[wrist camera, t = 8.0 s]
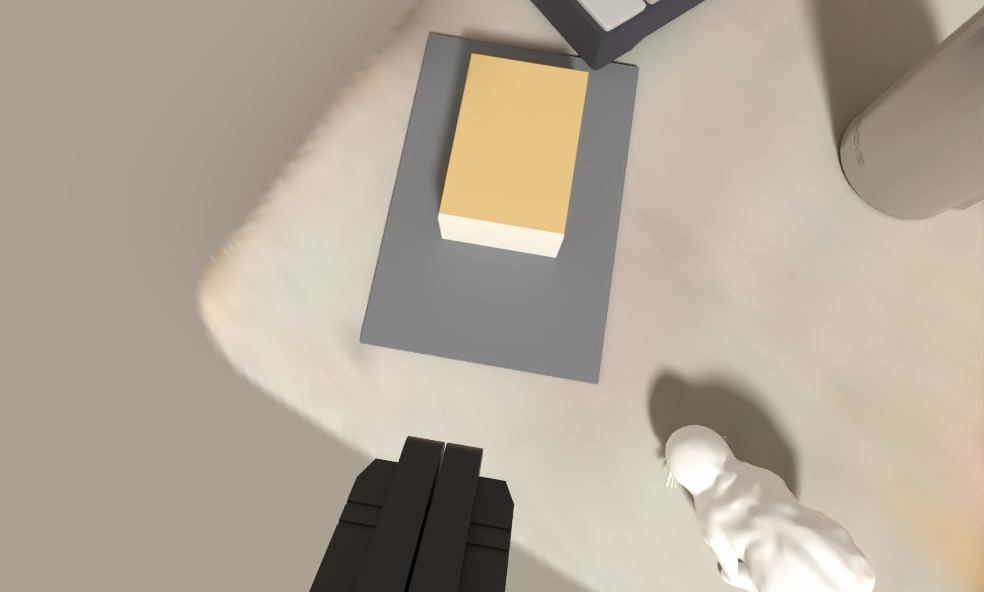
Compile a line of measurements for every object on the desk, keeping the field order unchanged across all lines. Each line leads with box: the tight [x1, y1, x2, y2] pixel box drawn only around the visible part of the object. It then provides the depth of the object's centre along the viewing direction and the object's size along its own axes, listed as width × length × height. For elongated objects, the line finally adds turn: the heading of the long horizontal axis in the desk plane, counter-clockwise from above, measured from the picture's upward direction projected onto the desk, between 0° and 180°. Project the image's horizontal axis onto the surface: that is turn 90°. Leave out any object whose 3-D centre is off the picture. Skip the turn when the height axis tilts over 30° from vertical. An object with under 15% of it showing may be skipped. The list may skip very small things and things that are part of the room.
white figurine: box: [665, 425, 875, 592], centre depth 34 cm, size 6×8×12 cm
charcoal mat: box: [360, 33, 639, 384], centre depth 43 cm, size 16×24×1 cm, turn 170°
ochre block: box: [438, 53, 589, 258], centre depth 41 cm, size 8×4×12 cm
